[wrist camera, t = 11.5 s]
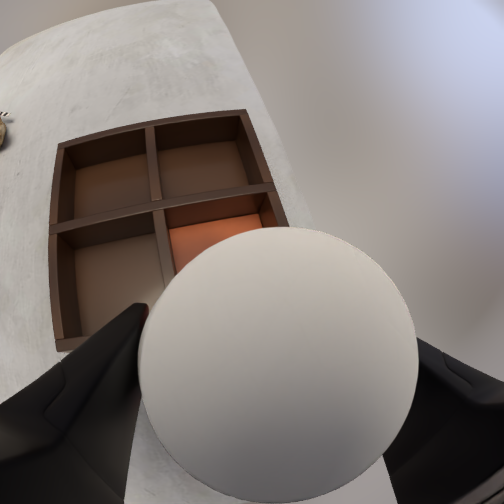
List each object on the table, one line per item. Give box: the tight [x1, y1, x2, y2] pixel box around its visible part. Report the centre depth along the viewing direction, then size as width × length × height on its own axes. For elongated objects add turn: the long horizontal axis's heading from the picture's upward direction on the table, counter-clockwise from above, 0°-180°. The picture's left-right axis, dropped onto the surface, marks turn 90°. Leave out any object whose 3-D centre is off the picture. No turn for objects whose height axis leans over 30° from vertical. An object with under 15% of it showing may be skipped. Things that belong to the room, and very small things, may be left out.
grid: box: [48, 109, 289, 353], centre depth 21 cm, size 17×17×4 cm
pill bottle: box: [138, 227, 419, 503], centre depth 9 cm, size 6×6×11 cm
